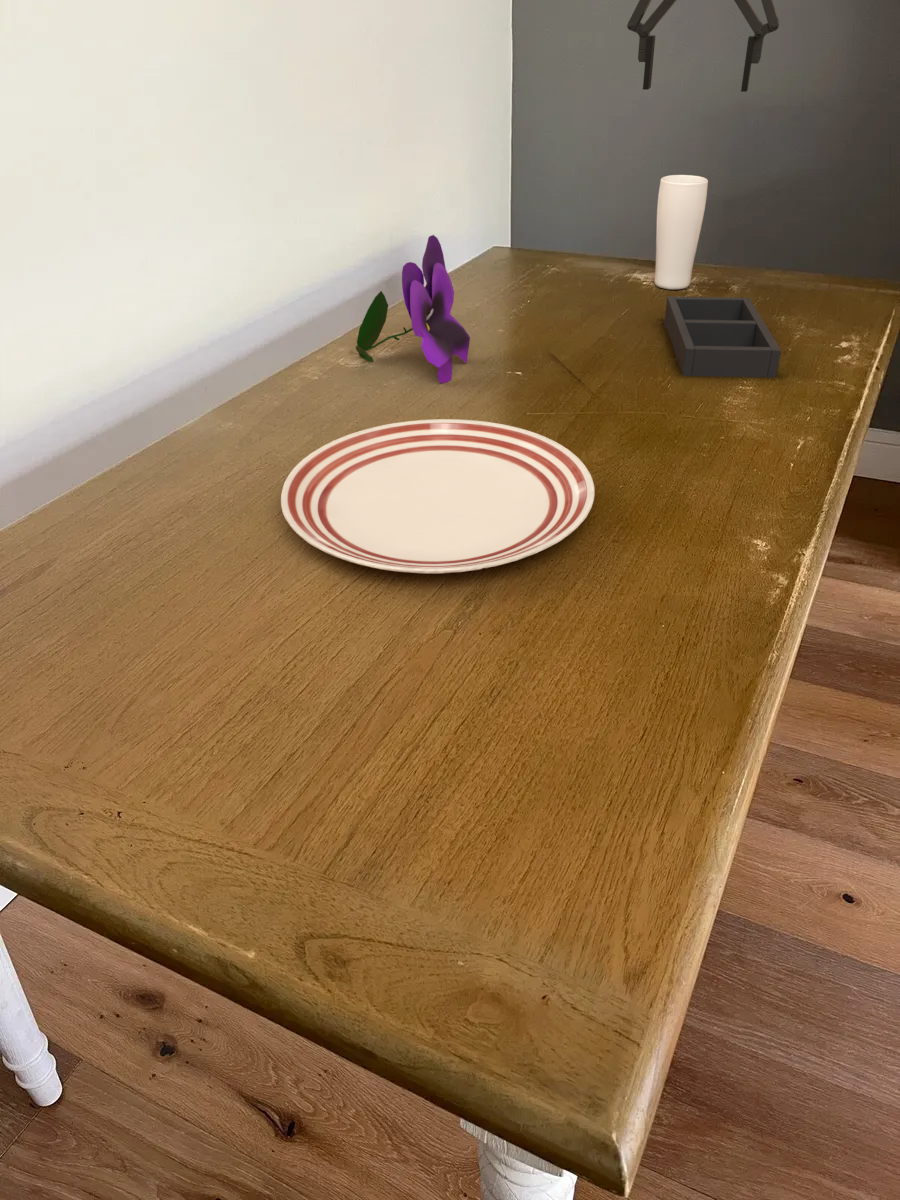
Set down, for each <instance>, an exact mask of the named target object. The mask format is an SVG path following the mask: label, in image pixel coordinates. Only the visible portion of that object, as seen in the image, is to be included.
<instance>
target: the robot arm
mask: <svg viewBox="0 0 900 1200" xmlns="http://www.w3.org/2000/svg"><path fill="white" fill-rule="evenodd" d="M677 1H678V0H662V2H660V4H659V5H658V6H657V8H656V9H655V10H654V11H653V12H652V13H651V15H650V16H649V17H648V18H647V19H646V21H645V22H644V23H643V22H642V20H643V18H644V16H645V14H646V12H647V10H648V9H649V6H650V5H651V2H652V0H639V1H638V2H637V4H636V6H635V8H634V10H633V12H632V14H631V16H630V18H629V20H628V22H627V25H626V28H627V30H629V31H630V32H631V31H632V32H634V33H636V34H637V35H638V37H639V39H638V51H637V60H638V62H639V63H644V70H643V71H644V72H643V80H642V81H643V82H642V90H643V91H644V90H647V91H648V90H649V89H651V87H652V79H653V77H652V76H653V68H654V66H653V65H654V56H655V47H656V46H655V45H656V35H651V32H652V31H653V30H654V29H655V27H656V26H657V25H658V24H659V22H660V21H661V20H662V19H663V18H664V16H665V15H666V14H667V13H668V11H669V10H670V9H671V8H672V7H673V5H674V4H675V3H676V2H677ZM733 1H734V2H735V4H736V6H737V8H738V9H739V10H740V13H741V14H742V15H743V17H744V20H746V22H747V24H748V25H749V27H750V28H751V30H752V32H753V34H754V35H749V36H748V38H747V46H746V53H745V60H744V66H743V73H742V81H741V89H740V92H744V93H745V92H748V90H749V83H750V76H751V70H752V64H759V62H760V61H761V59H762V50H763V44H764V39H765V36H766V35H768V34H770V33H773V32H776V31H777V30H778V29H779V27H780V19H779V17H778V13H777V10H776V6H775V3H774V0H760V1H761V4H762V8H763V11H764V14H765V18H766V23H763V22H762V21H761V19H760V17H759V16H758V14H757V13H756V11H755V9H754V7H753V6H752V4H751V2H750V1H749V0H733Z"/></svg>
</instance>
